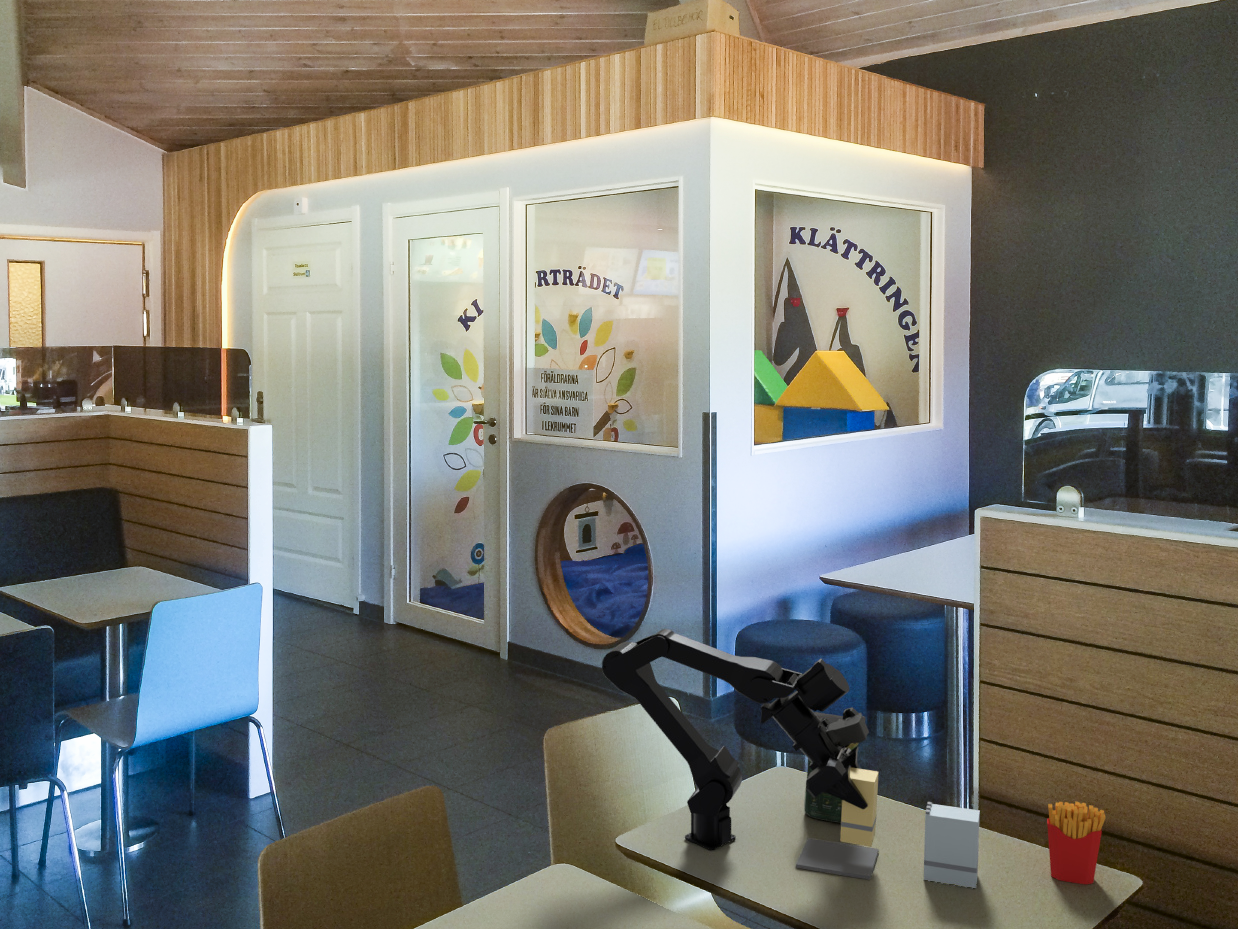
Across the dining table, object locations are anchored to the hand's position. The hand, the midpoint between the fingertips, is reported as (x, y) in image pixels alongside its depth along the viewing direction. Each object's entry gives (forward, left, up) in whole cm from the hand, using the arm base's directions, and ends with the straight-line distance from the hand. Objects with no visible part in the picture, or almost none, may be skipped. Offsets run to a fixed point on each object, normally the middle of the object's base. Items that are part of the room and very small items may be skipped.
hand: (868, 801), depth 181 cm
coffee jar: (-15, +12, -11) cm, 22 cm away
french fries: (+26, +20, -11) cm, 34 cm away
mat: (-4, -2, -11) cm, 12 cm away
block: (-1, -1, -7) cm, 7 cm away
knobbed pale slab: (+12, +6, -11) cm, 17 cm away
